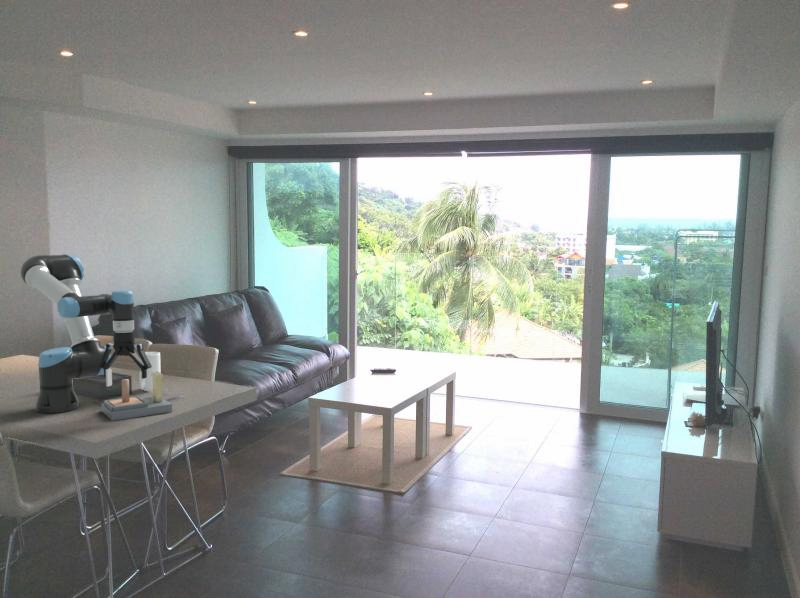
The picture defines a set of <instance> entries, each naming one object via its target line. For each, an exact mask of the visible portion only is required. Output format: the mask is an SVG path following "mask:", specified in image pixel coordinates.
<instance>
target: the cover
mask: <svg viewBox="0 0 800 598" xmlns="http://www.w3.org/2000/svg"><path fill="white" fill-rule="evenodd" d="M129 397H130V379H128V378H124V379H121V398H122V399H118V398H117V399H118V400H111V399H110V400H111V401H109V403H110V404H111V405H113V406H114V407H117V406H124V405H131V404H138V403H143V402H142V401H140V400H139V399H137V398H136V397H134V396H132V397H133V398H129Z"/></svg>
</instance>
